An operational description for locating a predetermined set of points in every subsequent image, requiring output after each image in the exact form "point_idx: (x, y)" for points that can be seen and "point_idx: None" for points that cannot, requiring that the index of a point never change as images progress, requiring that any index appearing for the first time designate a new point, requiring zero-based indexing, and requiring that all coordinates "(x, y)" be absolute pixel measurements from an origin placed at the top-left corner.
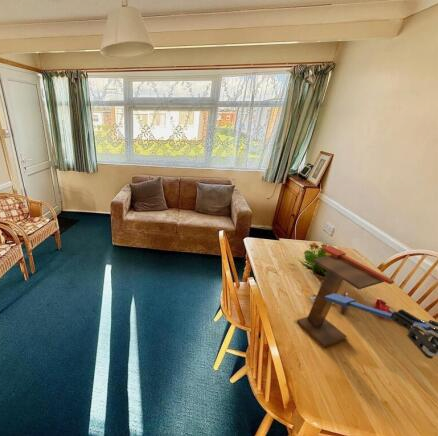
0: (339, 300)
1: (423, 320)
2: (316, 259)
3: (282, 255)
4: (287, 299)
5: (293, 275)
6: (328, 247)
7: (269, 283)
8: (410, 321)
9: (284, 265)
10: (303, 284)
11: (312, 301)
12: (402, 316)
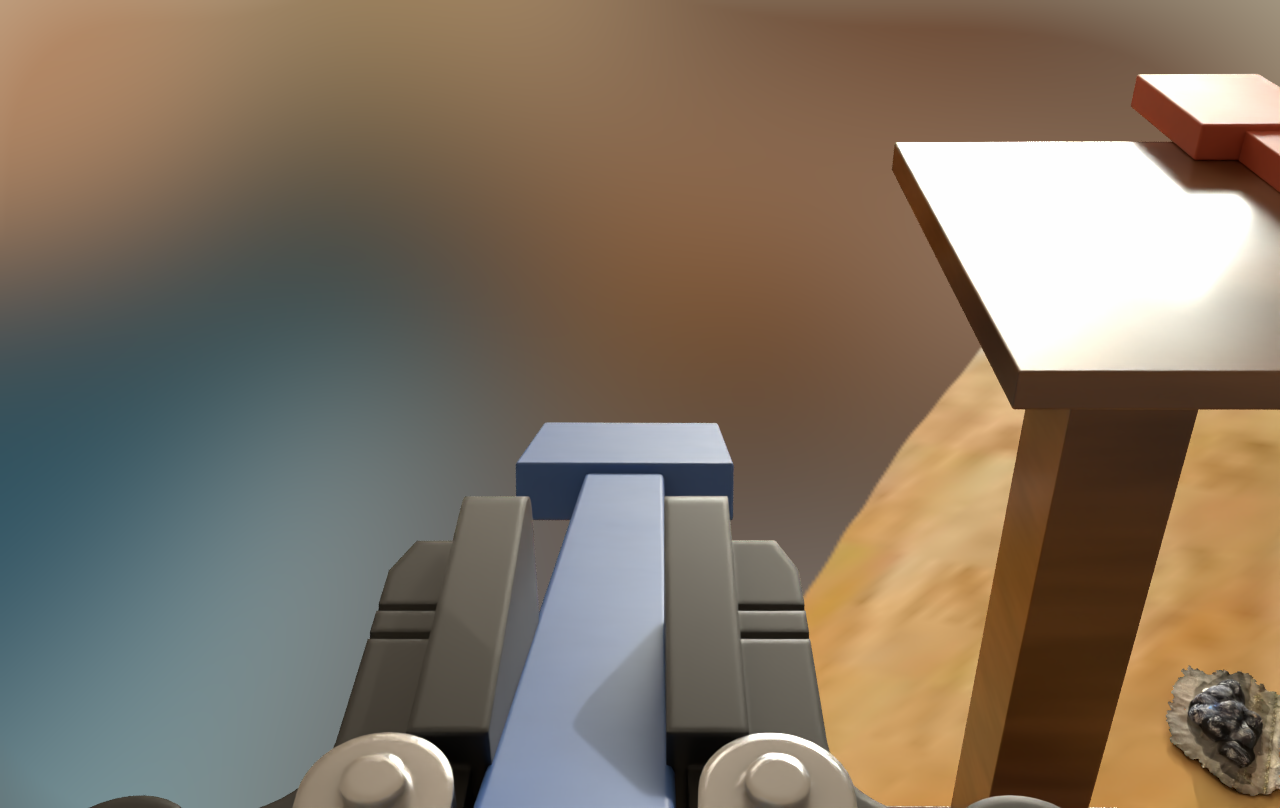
0: (547, 448)
1: (803, 755)
2: (926, 146)
3: None
4: (955, 653)
5: (1192, 513)
6: (1204, 80)
7: (919, 524)
8: (427, 692)
9: None
10: (1221, 586)
11: (1170, 714)
12: (453, 577)
